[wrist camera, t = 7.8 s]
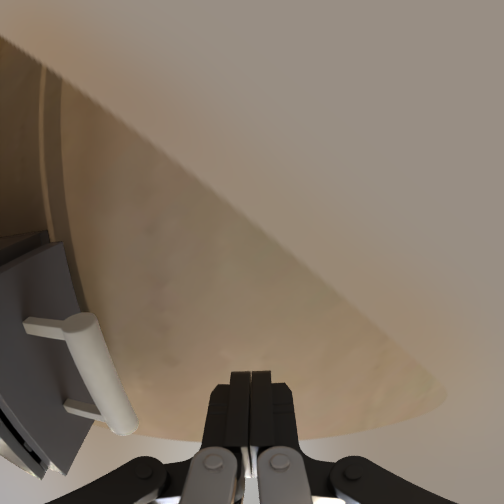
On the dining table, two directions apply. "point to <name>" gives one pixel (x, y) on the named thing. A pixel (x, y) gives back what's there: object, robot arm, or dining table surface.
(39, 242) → the cabinet
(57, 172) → the dining table surface
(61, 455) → the drawer
